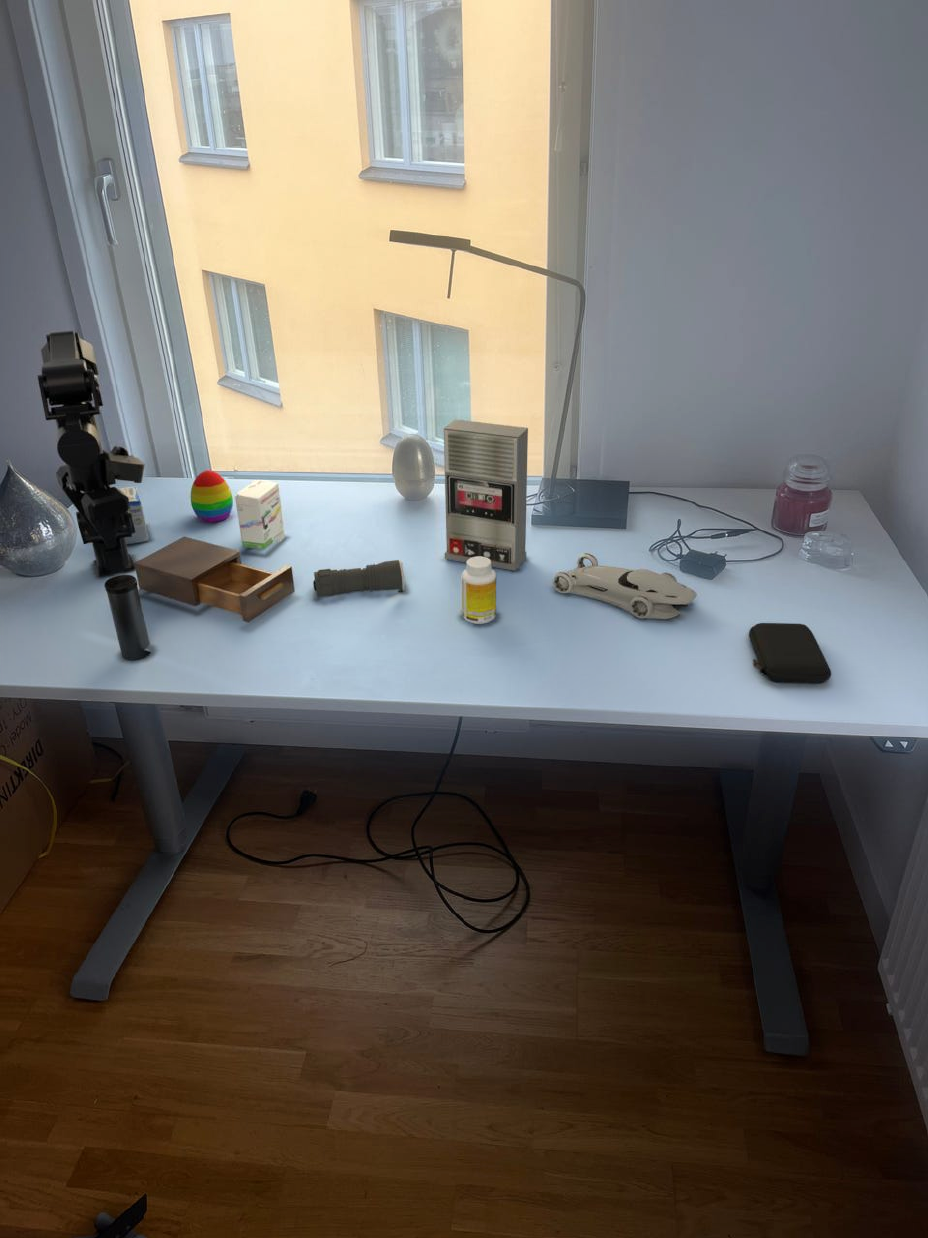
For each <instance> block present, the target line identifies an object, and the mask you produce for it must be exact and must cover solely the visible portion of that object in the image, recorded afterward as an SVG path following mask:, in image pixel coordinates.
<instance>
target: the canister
mask: <svg viewBox="0 0 928 1238" xmlns="http://www.w3.org/2000/svg"><path fill="white" fill-rule="evenodd" d="M103 585H104V589H105V592H106V595H107V599H108V603H109V607H110V611H111V616H112V620H113V624H114V628H115V633H116V636H117V637H116V638H117V641H118V645H119V646H118V647H119V648H120V649H119V650H120V653H121V657H122V659H123V660H125V661H129V662H135V661H140V660H144V659H146V658H147V657H149V656H150V655H151V653H152V652H151V651H150V650H146V649H147V648H148V647H149V646H150V644H151V643H150V638H149V633H148V629H147V625H146V620H145V616H144V611H143V606H142V602H141V596H140V592H139V589H138V588H139V586H138V579H137V577H136V576H134V575H131V574H119V575H115V576H112V577H110V578H108V579H107V580H106V581H105V582H104V584H103Z"/></svg>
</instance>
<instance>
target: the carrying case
mask: <svg viewBox="0 0 928 1238" xmlns="http://www.w3.org/2000/svg"><path fill="white" fill-rule="evenodd" d="M748 638H749V640H750V643H751V645H752V649H753V651H754V654H755V656H756V658H753V659H752V665H753V667H754V668H756V670H758V672H759V673H760V674H762V675H764V676H765V677H767V679H768V680H769V681H770V682H773V683H777V684H812V685H813V684H814V685H815V684H816V685H818V684H819V685H820V684H823V683H825V682H827V681H829V679H830V678H831V676H832V670H831V667H830V665H829V664H828V661H827V660H826V657H825V656H824V653H823V652H822V649H821V648H820V645H819V644H818V641H817V639H816V637H815V635H814V633H813V631H812V630H811V628H810V627H808V626H807V625H806V624H803V623H792V622H791V623H787V622H786V623H782V622H759V623H756V624H755V625H753V626H752V627H750V629H749V631H748Z"/></svg>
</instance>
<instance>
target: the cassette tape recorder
mask: <svg viewBox="0 0 928 1238" xmlns="http://www.w3.org/2000/svg"><path fill="white" fill-rule="evenodd" d="M528 442H529V428H528V427H523V426H516V425H509V424H507V425H506V424H498V423H491V422H490V423H489V422H481V421H473V420H464V419H454V420H452V421H451V422H450V423H449V424H447V425H446V426H444V427H443V455H444V456H443V457H444V458H443V460H444V495H445V496H444V497H445V498H444V499H445V500H444V501H445V533H446V534H445V537H446V551H445V552H444V559H445V560H449V561H457V562H462V563H467V560H468V559H470V558H472V557H477V556H481V557H486V558H488V559H490V560H491V567H492V568H498V569H504V570H509V571H512V572H516V571H518V568H519V567H520V566H521V565H522V563H523V562H524V561H525V559H526V558H527V550H526V536H527V493H528V491H527V490H528V450H529V449H528V448H529V447H528V446H529V444H528Z"/></svg>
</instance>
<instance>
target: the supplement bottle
mask: <svg viewBox="0 0 928 1238" xmlns="http://www.w3.org/2000/svg"><path fill="white" fill-rule="evenodd" d="M465 568H466V569H464V570H463V571H462V573H461V604H462V606H461V607H462V609H461V611H462V617H463V619H464V620H465V621H467V622H468V623H471V624H475V625H483V624H488V623H490V622H492V621H493V620H495V618H496V616H497V573H496V571H495V570H494V569H492V568H493V567H491V560H490V559H488V558H486V557H481V556H477V557H472V558H470V559H468V560H467V562H466V566H465Z"/></svg>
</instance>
